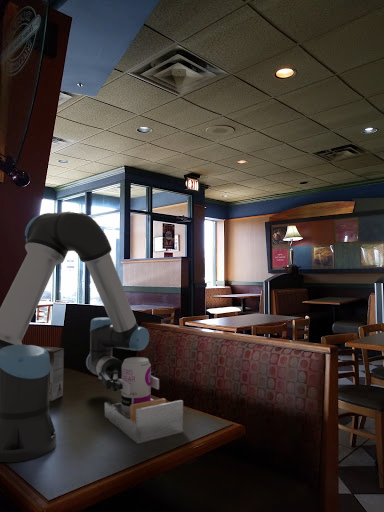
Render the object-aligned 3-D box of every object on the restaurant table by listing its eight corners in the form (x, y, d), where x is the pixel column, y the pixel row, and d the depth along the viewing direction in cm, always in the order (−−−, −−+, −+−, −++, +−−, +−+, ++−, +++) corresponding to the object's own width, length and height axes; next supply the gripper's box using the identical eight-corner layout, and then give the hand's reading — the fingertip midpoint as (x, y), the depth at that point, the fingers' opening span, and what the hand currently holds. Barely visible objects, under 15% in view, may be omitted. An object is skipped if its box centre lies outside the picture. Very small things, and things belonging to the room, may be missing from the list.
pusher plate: (130, 426, 104) (130, 404, 104) (163, 419, 110) (163, 398, 110) (132, 428, 103) (132, 405, 103) (165, 420, 109) (165, 399, 109)
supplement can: (152, 408, 117) (153, 357, 117) (147, 418, 109) (147, 363, 109) (125, 407, 118) (126, 356, 118) (117, 417, 109) (118, 362, 110)
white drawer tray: (104, 416, 115) (104, 388, 116) (145, 407, 122) (145, 381, 123) (137, 443, 97) (137, 410, 97) (182, 431, 104) (183, 400, 104)
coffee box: (28, 398, 131) (29, 349, 132) (40, 393, 137) (41, 346, 138) (52, 401, 129) (53, 351, 130) (64, 395, 135) (64, 347, 136)
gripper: (141, 376, 134) (176, 394, 115) (79, 386, 122) (107, 407, 104) (141, 354, 134) (176, 367, 115) (79, 362, 123) (107, 378, 104)
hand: (143, 386), depth 109 cm, fingers closed on supplement can, 8 cm apart
